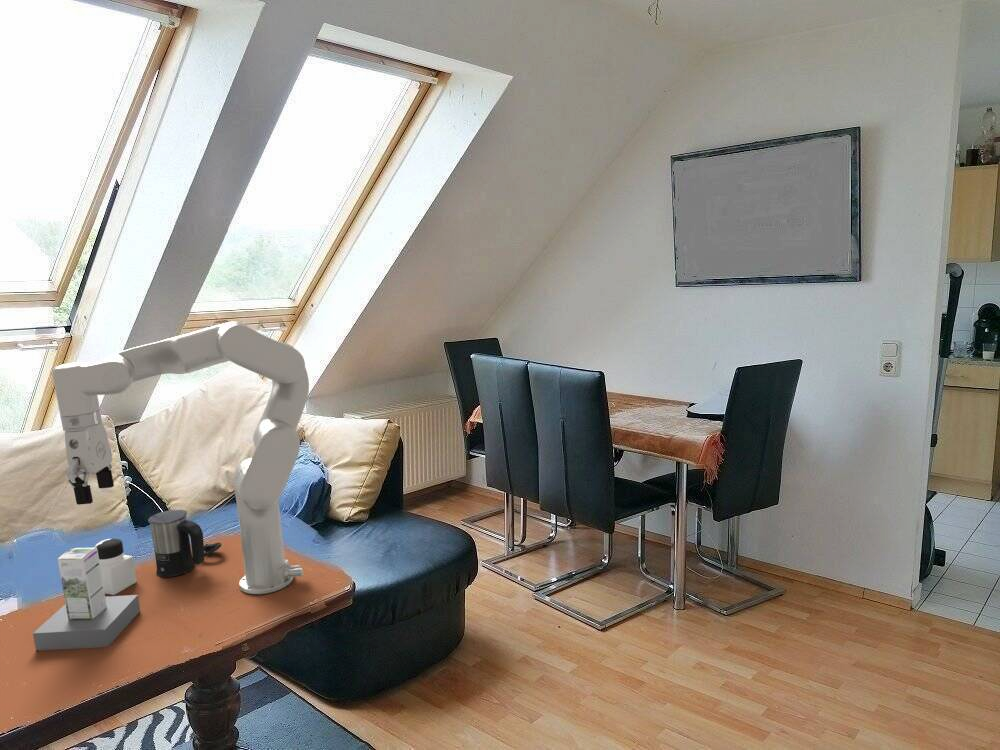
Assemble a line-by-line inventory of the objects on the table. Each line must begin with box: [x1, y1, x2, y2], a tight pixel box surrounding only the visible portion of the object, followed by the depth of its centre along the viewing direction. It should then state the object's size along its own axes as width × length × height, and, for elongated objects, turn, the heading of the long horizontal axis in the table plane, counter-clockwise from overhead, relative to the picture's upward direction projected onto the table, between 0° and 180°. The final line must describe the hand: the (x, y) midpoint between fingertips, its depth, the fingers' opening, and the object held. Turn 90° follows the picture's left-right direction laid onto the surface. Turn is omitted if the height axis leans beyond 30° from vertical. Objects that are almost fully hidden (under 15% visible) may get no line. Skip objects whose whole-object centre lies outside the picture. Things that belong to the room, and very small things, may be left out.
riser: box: [32, 594, 141, 651], centre depth 162 cm, size 15×15×4 cm
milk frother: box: [147, 509, 222, 578], centre depth 192 cm, size 14×16×15 cm
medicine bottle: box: [94, 538, 138, 596], centre depth 181 cm, size 7×7×12 cm
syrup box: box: [57, 547, 107, 620], centre depth 160 cm, size 6×6×14 cm
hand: (96, 495), depth 162 cm, fingers open, 9 cm apart
